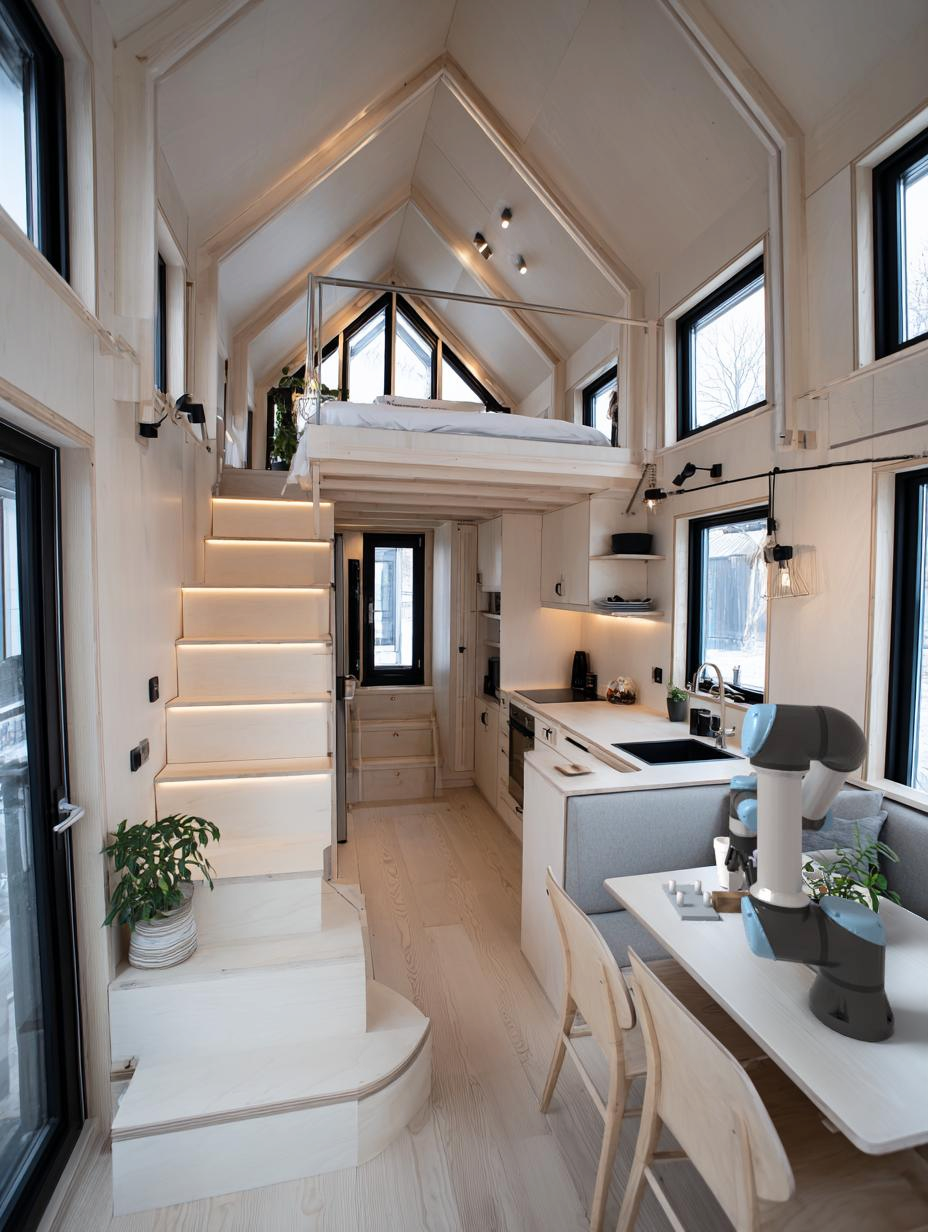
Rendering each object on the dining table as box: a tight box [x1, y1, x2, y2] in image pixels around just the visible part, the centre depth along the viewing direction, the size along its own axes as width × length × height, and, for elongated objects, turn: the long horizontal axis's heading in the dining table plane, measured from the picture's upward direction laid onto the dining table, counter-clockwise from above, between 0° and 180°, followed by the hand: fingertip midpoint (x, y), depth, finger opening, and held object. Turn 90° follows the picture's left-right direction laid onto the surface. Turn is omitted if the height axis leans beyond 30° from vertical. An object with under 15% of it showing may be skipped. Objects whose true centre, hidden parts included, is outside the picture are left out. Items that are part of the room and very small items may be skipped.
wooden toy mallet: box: [711, 890, 750, 914], centre depth 171 cm, size 18×6×4 cm, turn 88°
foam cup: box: [713, 836, 745, 890], centre depth 185 cm, size 10×9×13 cm
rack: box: [661, 879, 720, 922], centre depth 174 cm, size 18×10×5 cm, turn 178°
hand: (742, 906), depth 171 cm, fingers open, 13 cm apart
